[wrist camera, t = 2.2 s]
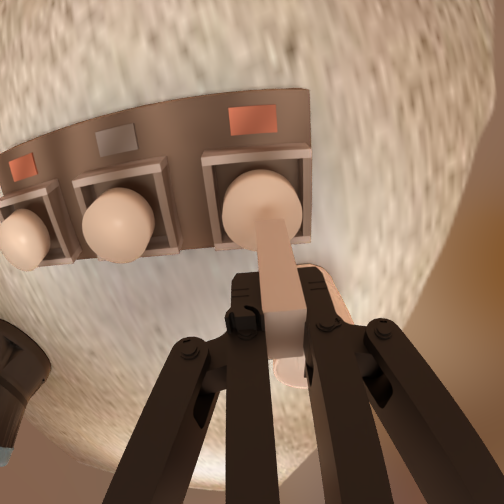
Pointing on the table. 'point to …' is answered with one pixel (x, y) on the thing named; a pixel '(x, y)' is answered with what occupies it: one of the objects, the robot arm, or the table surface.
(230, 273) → the table surface
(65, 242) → the panel
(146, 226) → the button mid
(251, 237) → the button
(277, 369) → the tan paper cup
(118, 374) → the table surface
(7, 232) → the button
